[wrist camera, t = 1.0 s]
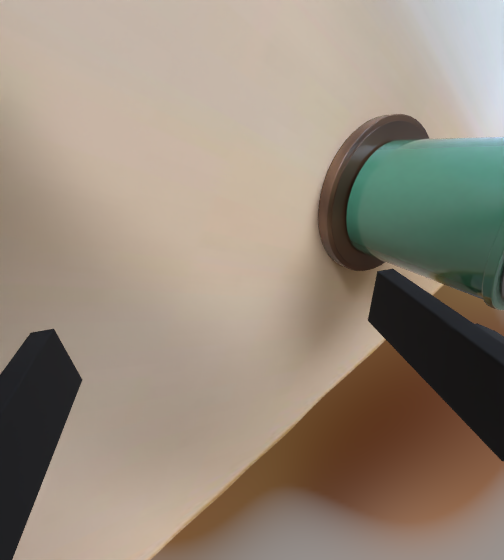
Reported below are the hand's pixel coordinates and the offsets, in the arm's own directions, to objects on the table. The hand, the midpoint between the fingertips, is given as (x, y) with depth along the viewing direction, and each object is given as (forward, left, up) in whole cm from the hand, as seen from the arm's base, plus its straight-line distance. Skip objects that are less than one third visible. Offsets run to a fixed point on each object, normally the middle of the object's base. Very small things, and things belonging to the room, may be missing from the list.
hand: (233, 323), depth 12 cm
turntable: (0, +21, -11) cm, 24 cm away
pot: (-1, +26, -9) cm, 28 cm away
